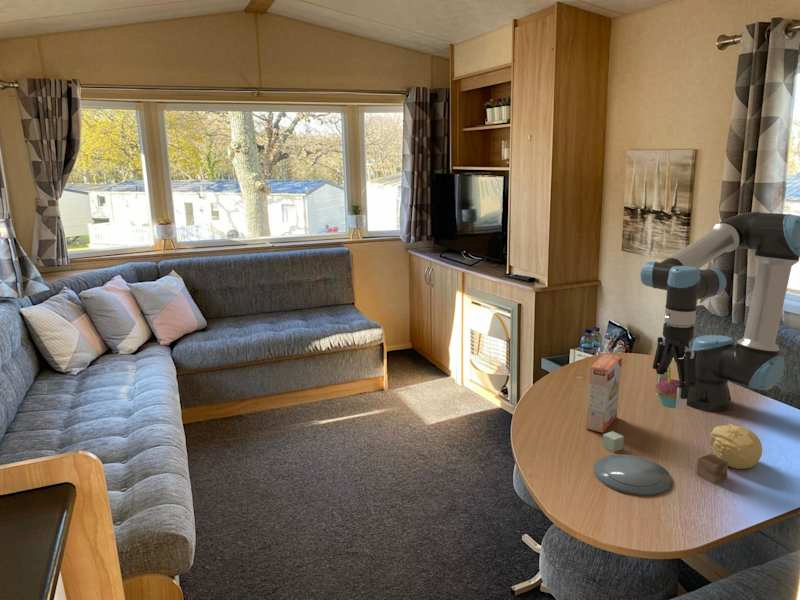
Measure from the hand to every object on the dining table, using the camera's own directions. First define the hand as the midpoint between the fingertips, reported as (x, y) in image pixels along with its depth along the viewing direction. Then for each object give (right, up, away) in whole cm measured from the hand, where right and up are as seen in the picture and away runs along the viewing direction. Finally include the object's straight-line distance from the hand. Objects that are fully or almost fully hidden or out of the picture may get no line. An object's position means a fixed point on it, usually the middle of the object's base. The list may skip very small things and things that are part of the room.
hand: (670, 401), depth 166 cm
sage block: (-14, -15, +7) cm, 21 cm away
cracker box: (-11, -11, +23) cm, 28 cm away
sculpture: (+17, -17, -2) cm, 24 cm away
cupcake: (0, -1, 0) cm, 1 cm away
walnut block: (+7, -18, -9) cm, 21 cm away
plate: (-14, -18, -7) cm, 24 cm away
